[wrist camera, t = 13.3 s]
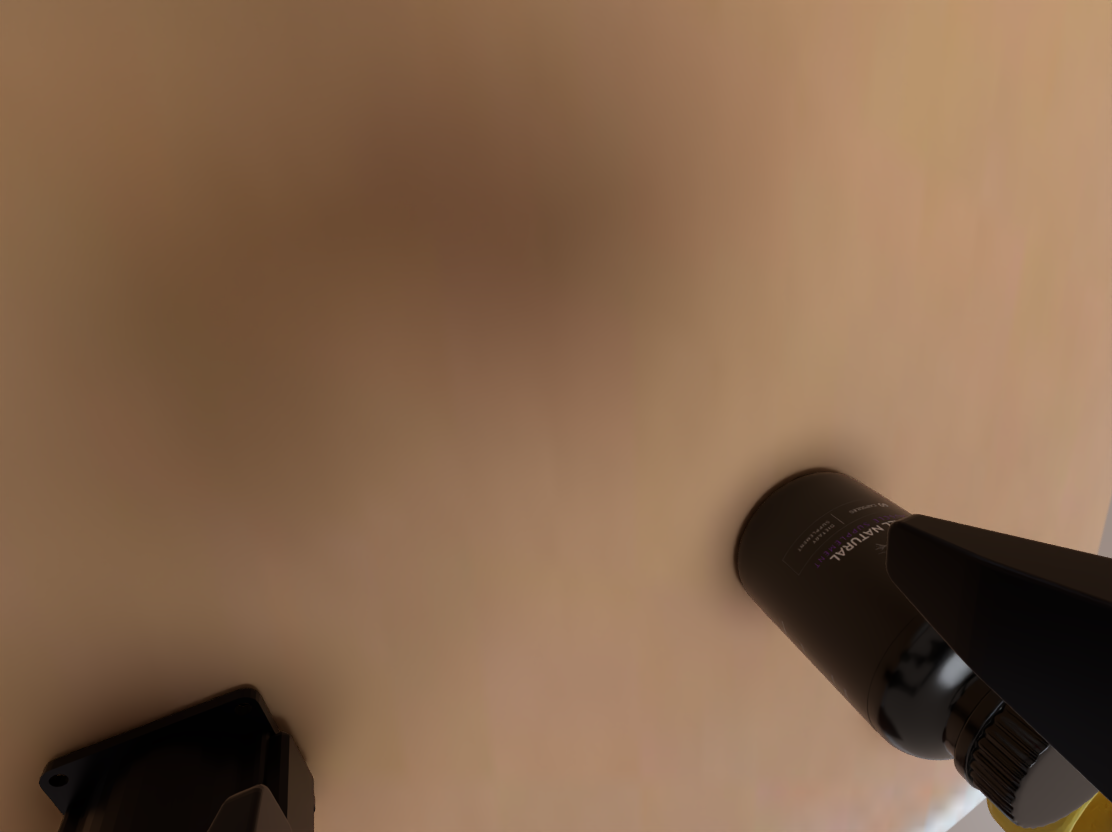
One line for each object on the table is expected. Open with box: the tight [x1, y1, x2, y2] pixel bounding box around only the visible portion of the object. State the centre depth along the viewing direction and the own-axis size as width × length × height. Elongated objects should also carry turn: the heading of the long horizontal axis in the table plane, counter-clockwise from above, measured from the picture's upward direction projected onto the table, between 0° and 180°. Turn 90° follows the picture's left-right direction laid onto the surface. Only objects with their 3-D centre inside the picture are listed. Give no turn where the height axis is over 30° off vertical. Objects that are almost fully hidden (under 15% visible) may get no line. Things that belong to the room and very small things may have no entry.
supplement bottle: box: [738, 472, 1099, 829], centre depth 23 cm, size 7×7×12 cm
